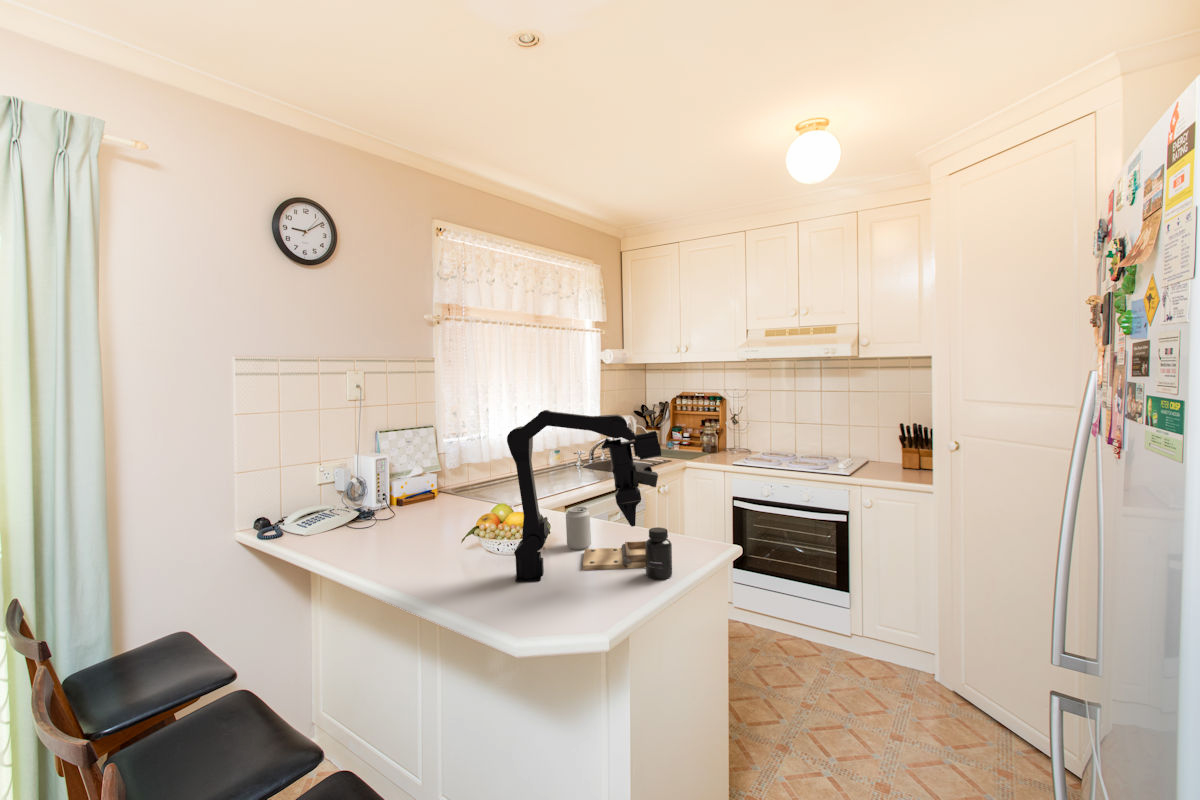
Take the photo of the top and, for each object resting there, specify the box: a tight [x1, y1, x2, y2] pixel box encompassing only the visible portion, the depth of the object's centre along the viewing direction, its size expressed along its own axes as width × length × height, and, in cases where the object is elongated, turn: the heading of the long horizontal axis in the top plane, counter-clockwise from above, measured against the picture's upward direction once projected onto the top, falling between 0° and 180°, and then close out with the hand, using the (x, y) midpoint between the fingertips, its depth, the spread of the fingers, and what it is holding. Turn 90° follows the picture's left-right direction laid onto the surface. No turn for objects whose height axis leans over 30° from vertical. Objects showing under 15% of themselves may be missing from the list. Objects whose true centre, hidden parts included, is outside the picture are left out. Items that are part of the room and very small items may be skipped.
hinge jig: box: [582, 540, 647, 571], centre depth 150 cm, size 24×14×3 cm, turn 89°
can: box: [565, 506, 592, 551], centre depth 163 cm, size 8×8×12 cm
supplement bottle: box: [645, 527, 673, 581], centre depth 137 cm, size 7×7×12 cm
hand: (632, 521), depth 138 cm, fingers open, 9 cm apart
